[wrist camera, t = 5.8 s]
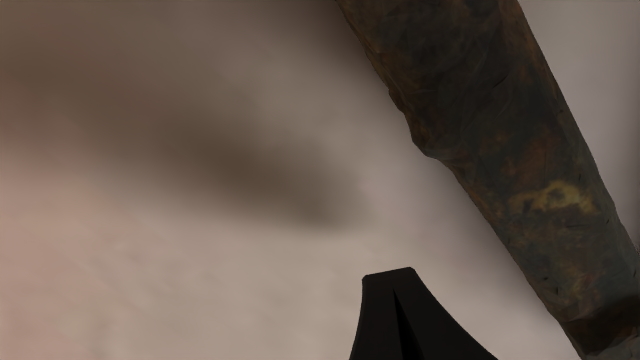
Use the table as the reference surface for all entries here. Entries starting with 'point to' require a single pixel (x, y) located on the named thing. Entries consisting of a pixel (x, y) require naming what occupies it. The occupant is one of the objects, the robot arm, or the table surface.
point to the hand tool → (511, 154)
